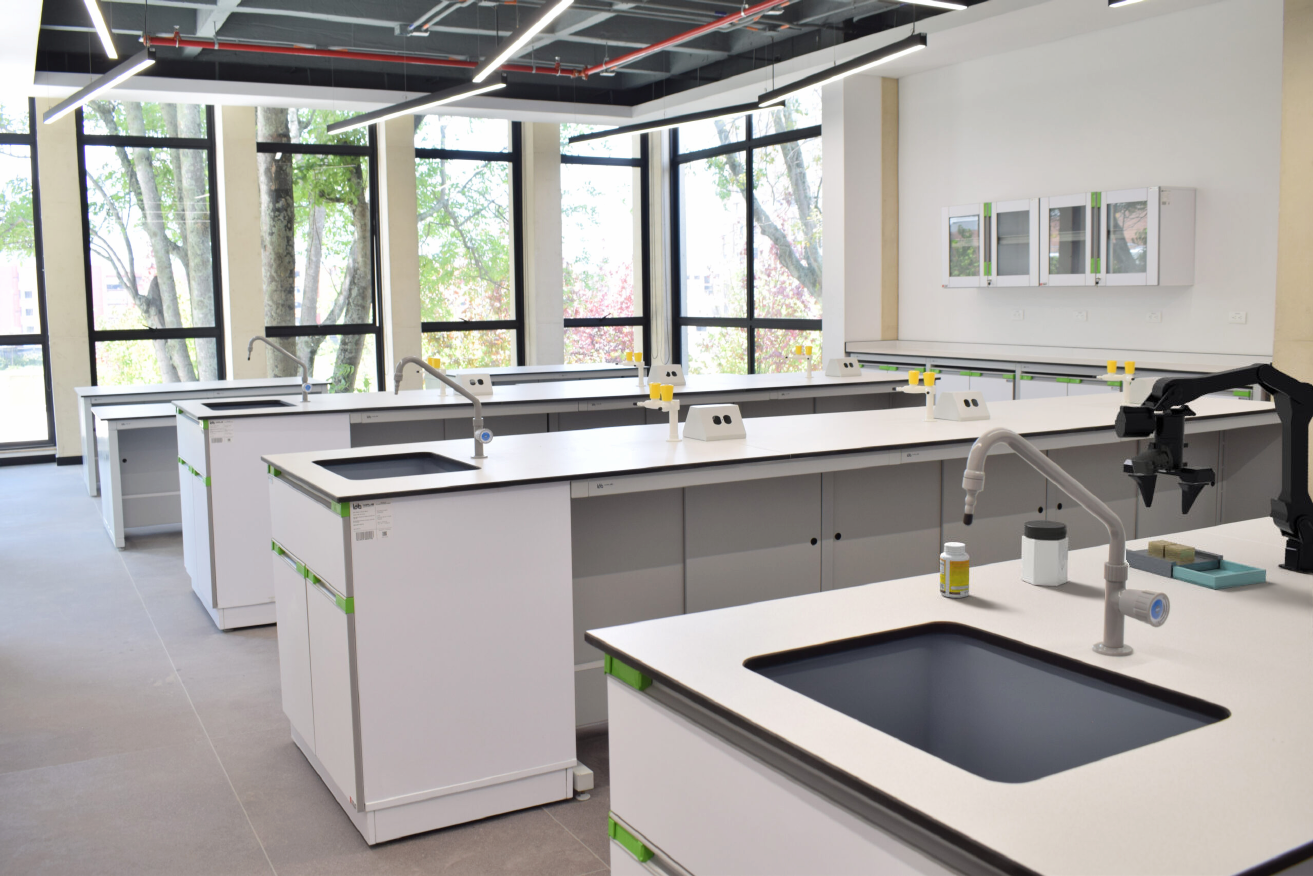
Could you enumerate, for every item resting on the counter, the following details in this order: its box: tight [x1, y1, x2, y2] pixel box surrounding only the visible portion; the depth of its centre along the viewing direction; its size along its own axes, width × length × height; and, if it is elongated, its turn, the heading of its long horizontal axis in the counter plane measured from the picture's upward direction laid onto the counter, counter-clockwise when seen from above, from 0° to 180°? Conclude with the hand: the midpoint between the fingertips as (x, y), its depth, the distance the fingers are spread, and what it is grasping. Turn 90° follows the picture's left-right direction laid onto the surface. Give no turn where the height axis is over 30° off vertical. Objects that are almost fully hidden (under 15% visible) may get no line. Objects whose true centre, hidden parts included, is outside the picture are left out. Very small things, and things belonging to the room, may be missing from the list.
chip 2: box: [1165, 543, 1196, 561], centre depth 222 cm, size 4×4×2 cm
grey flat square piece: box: [1125, 548, 1224, 579], centre depth 224 cm, size 14×14×3 cm
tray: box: [1172, 559, 1267, 591], centre depth 213 cm, size 14×10×2 cm
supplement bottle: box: [939, 541, 970, 599], centre depth 205 cm, size 6×6×10 cm
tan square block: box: [1147, 539, 1178, 557], centre depth 226 cm, size 4×4×2 cm
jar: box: [1020, 519, 1069, 587], centre depth 214 cm, size 9×8×12 cm
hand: (1166, 510), depth 221 cm, fingers open, 9 cm apart
